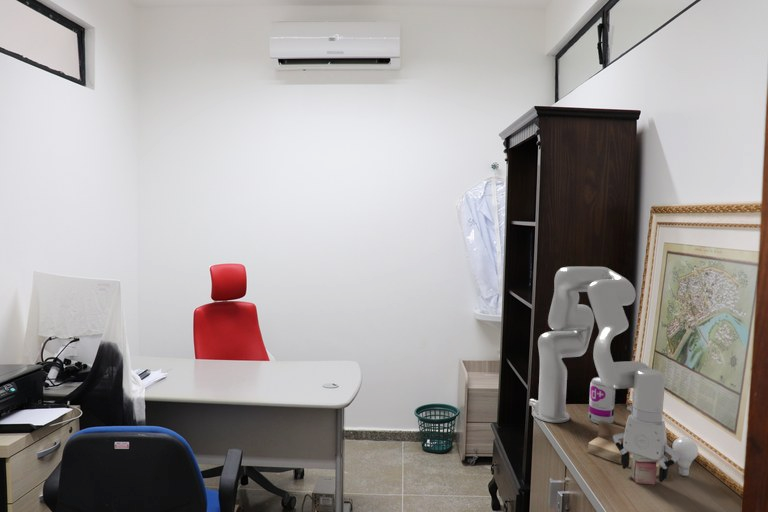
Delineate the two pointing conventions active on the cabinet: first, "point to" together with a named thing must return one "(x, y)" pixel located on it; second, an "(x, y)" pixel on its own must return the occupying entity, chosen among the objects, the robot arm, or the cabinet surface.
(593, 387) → the supplement can
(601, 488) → the cabinet surface
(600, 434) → the board
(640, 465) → the small box
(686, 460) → the lightbulb
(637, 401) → the robot arm
